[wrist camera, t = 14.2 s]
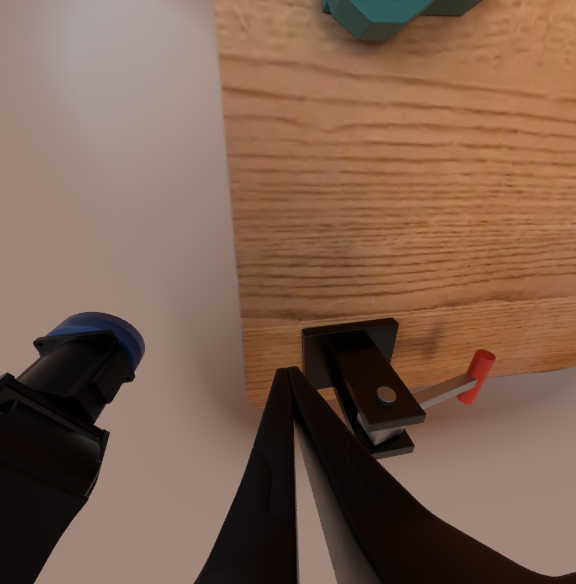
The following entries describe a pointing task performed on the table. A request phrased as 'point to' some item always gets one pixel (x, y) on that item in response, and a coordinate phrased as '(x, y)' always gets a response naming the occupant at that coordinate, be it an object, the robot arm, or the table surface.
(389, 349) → the bracket
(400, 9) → the button box
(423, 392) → the lever
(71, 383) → the robot arm
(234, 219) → the table surface
